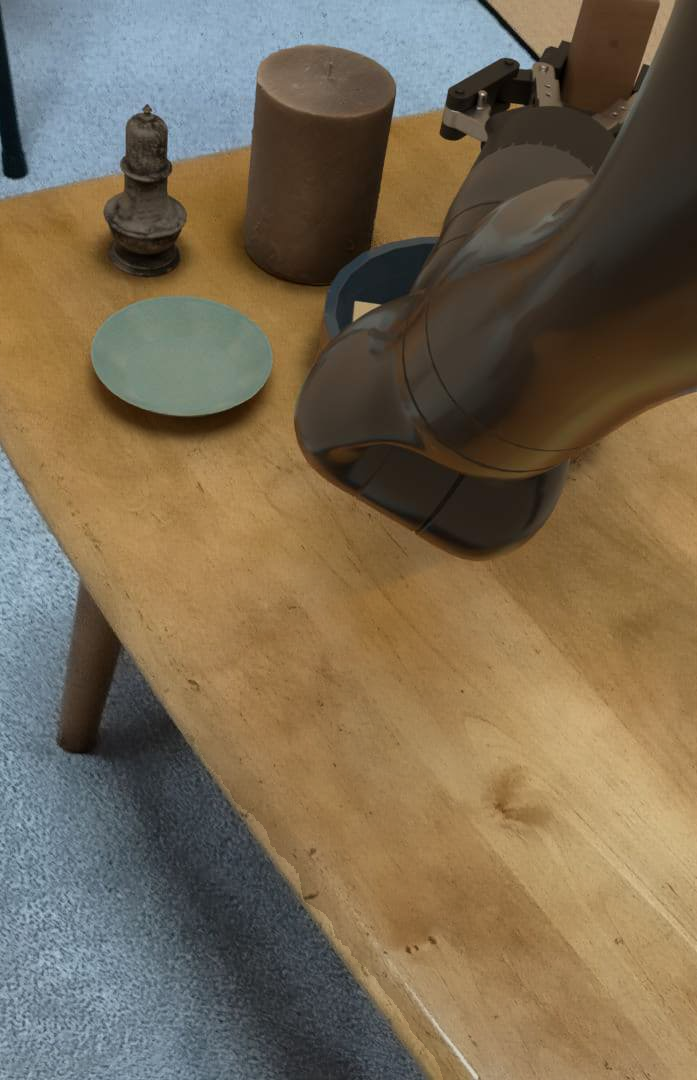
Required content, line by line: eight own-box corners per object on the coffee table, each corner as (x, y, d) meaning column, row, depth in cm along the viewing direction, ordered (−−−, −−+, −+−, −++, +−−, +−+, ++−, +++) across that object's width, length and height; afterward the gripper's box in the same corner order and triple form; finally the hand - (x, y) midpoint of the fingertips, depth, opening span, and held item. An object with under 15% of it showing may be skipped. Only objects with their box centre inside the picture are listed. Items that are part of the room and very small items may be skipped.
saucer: (136, 460, 77) (137, 434, 75) (63, 345, 83) (61, 318, 81) (301, 410, 82) (305, 385, 80) (220, 305, 88) (222, 279, 86)
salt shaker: (132, 288, 88) (134, 136, 79) (88, 244, 91) (84, 93, 82) (201, 264, 91) (209, 115, 82) (156, 222, 93) (159, 73, 85)
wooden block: (525, 248, 73) (599, -8, 62) (521, 219, 75) (591, -33, 65) (633, 263, 74) (724, 12, 63) (625, 233, 76) (711, -14, 65)
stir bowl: (618, 351, 91) (642, 290, 87) (560, 530, 78) (584, 469, 74) (368, 269, 93) (380, 206, 89) (271, 429, 80) (279, 365, 76)
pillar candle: (388, 276, 93) (425, 92, 82) (266, 294, 90) (287, 104, 78) (340, 202, 99) (368, 20, 87) (223, 216, 95) (237, 29, 84)
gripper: (707, 197, 55) (752, 39, 66) (403, 105, 56) (498, -32, 68) (654, 331, 60) (704, 164, 71) (379, 243, 62) (470, 95, 73)
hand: (603, 69), depth 70 cm, fingers closed on wooden block, 4 cm apart
